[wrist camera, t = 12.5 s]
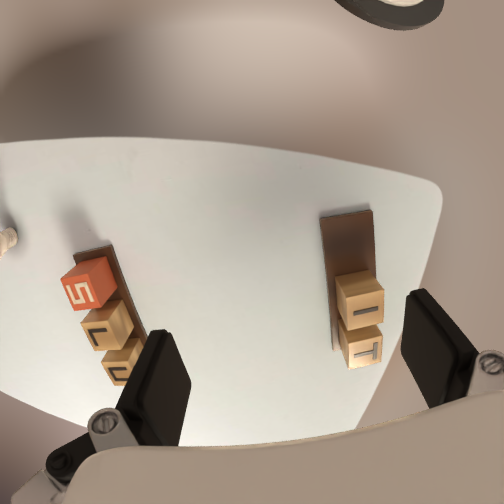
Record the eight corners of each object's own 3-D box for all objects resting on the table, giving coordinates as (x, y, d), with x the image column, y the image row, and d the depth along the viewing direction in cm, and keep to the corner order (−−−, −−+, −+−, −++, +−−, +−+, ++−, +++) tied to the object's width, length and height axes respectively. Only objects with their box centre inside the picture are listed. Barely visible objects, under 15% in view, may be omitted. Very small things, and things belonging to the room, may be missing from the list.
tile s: (80, 261, 34) (59, 279, 29) (106, 255, 34) (86, 273, 29) (91, 291, 35) (73, 311, 31) (117, 287, 35) (101, 308, 30)
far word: (74, 253, 34) (51, 272, 29) (112, 244, 34) (90, 263, 28) (124, 364, 41) (111, 390, 35) (159, 362, 40) (149, 390, 35)
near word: (319, 218, 33) (331, 234, 27) (370, 209, 32) (391, 224, 27) (332, 348, 39) (341, 377, 33) (374, 339, 38) (387, 365, 33)
